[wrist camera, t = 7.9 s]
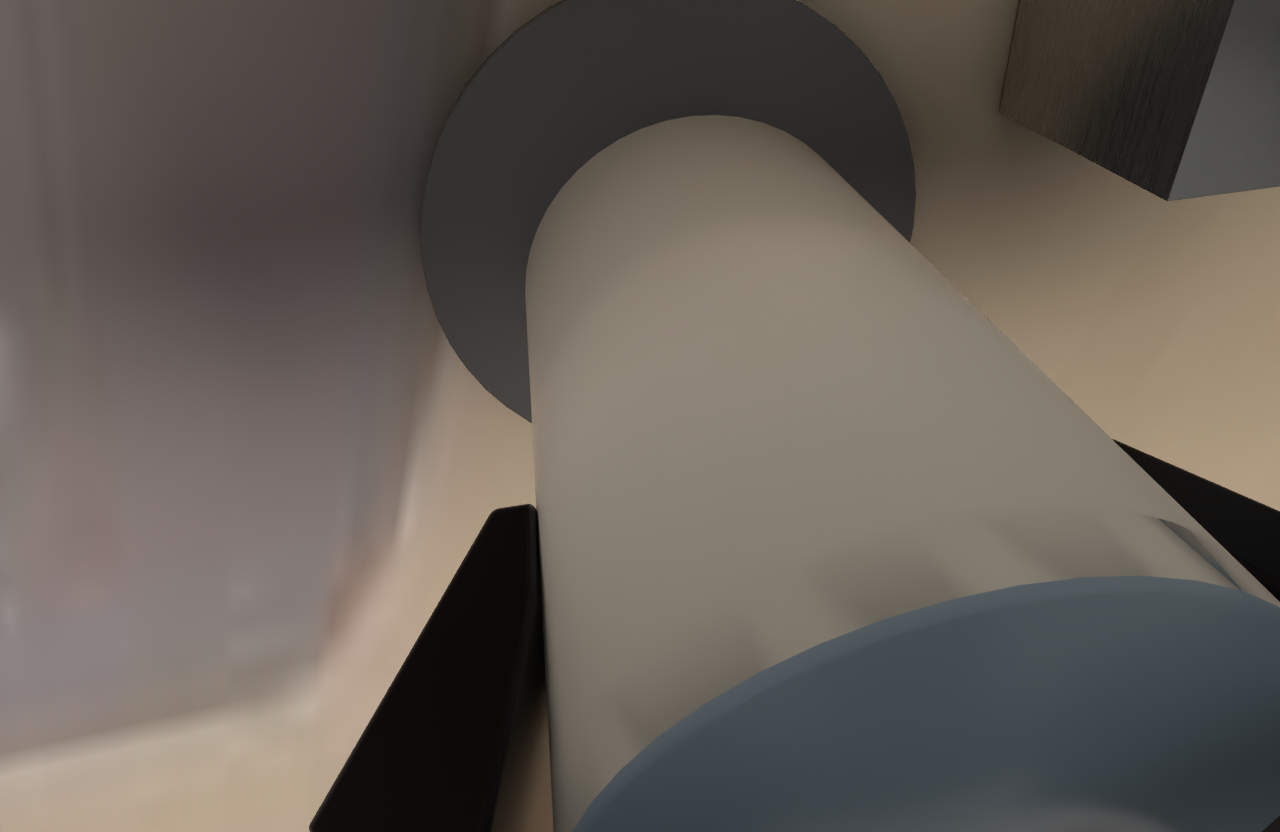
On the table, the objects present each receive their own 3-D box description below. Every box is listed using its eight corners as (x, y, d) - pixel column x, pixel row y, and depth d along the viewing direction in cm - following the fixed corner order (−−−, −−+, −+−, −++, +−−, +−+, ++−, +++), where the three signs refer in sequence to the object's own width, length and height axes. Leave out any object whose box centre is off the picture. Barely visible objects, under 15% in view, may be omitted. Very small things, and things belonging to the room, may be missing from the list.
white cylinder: (878, 93, 10) (1525, 517, 4) (847, 404, 13) (1179, 939, 7) (495, 139, 10) (486, 693, 3) (551, 447, 13) (601, 1057, 6)
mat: (932, -58, 11) (952, -53, 11) (874, 401, 16) (886, 419, 15) (361, 2, 11) (354, 9, 10) (477, 460, 15) (477, 480, 15)
